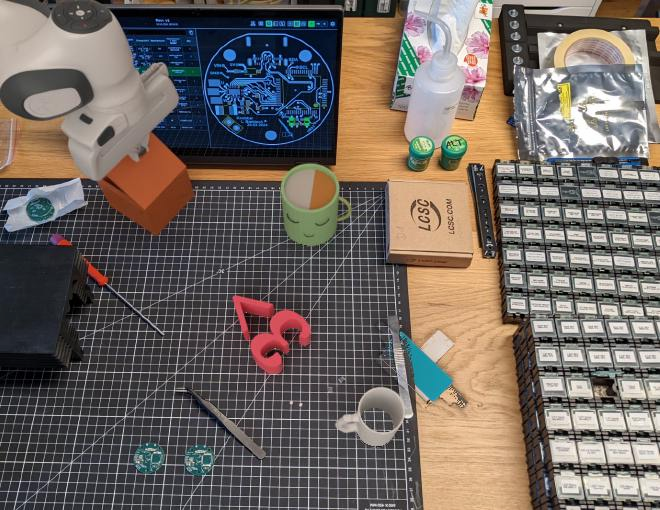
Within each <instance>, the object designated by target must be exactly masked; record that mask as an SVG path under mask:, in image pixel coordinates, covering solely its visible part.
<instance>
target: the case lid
mask: <svg viewBox="0 0 660 510" xmlns="http://www.w3.org/2000/svg"><path fill="white" fill-rule="evenodd" d="M149 134H150V137H149V141H148V145H147V146H148V148H149V152H148V153H146V154H145V155H144V156H143V157H142V158H141V159H140V160H139V161H138V162H136V161H134V160H133V159H131V158H130V156H129V155H128V154H127V155H126V156H125V157H124V158H123V159H122V160H121V161H120V162H119V163H118V164H117V165H116V166H115V167H114V168H113V169H112V170H111V171H110V172H109V173H108V174H107V175H106V176H107V177H108V178H109V179H111V180H112V181H113V182H114V183H115V184H116V185H117V186H118V187H119V188H120V189H121V190H122V191H124V192H125V193H126V194H127V195H128V196H129V197H130V198H131V199H132V200H133V201H134V202H135V203H137V204H138V205H139V206H140V207H141V208H142V209H143V210H145V209H146V208H147V207H148V206H149V205H150V204H151V203H152V202H153V201H154V200H155V199H156V198H157V197H158V196H159V195H160V194H161V193H162V192H163V191H164V190H165V189H166V187H167V186H168V185H169V184H170V183H171V182H172V181H173V180H174V179H175V178H176V177H177V176H178V175H179V174H180V173H181V172H182V171H183V170H184V169H185V168H186V169H187V165H186V164H185V163H184V162H183V161H182V160H181V159H180V158H179V157H177V156H176V154H175V153H173V152H172V150H170V148H168V146H166V144H164V143H163V142H162V140H160V139H159V137H158V136H156V135H155V133H153V132H152V131H151V132H150V133H149Z"/></svg>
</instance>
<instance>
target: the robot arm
mask: <svg viewBox="0 0 660 510" xmlns="http://www.w3.org/2000/svg"><path fill="white" fill-rule="evenodd" d="M169 76H170V75H169V70H168V67H167V65H166V63H164V62H162V61H161V62H157V63H156V62H153V63H152V64H150V65H149V66H148V69H146V70H144V71H143V72H142V73H141V74H140V72H139V71H138V69H137V68H136V66H135V65H134V54H133V52H132V49H131V46H130V44H129V41H128V39H127V35H126V34H125V31H124V30H123V28H122V26H121V24H120V22H119V21H118V19H117V17H116V15H114V13H113V12H112V11H111V10H110V9H109V8H108V7H107V6H106V5H104V4H102V3H101V2H99V1H97V0H62V1H59V2H58V3H57V4H55V6H54V7H53V8H52V10H51V9H50V7H49V6H48V5H46V4H45V3H43V2H41V1H39V0H0V102H1V104H2V105H3V107H4V108H5V109H6V110H8V111H9V112H10V113H12V114H13V115H15V116H17V117H19V118H22V119H25V120H30V121H35V122H44V121H45V122H46V121H51V120H52V121H53V120H56V119H59V118H62V117H64V118H63V120H62V122H61V124H60V129H61V131H62V133H63V134H64V135H66V136H67V137H68V141H67V146H68V147H67V148H68V151H69V154H70V156H71V159H72V161H73V163H74V165H75V167H76V168H77V170H78V171H79V173H81V174H82V175H83V176H84V177H86V178H87V179H89V180H91V181H92V182H93V181H94V182H97V181H100V180H102V179H103V178H104V177H105V176H106V175H107V174H108V173H109V172H110V171H111V170H112V169H113V168H114V167H115V166H116V165H117V164H118V163H119V162H120V161H121V160H122V159H123V158H124V157H125V156H126V155H127V154H128V155H129V156H130V158H131V159H133V160H134V161H136V162H138V161H139V160H140V159H141V158H142V157H143V156H144V155H145V154H146V153H148V152H149V148H148V146H147V145H148V141H149V137H150V134H149V133H150V132H152V131H153V130H154V129H155V128H156V127H157V126H158V125H159V124H160V123H162V121H163V120H164V119H165V118H166V117H168V115H169V114H170V113H172V112H173V110H175V109H176V108H177V107H178V105H179V102H180V101H179V100H180V97H179V94H178V91H177V89H176V87H175V85H174V83H173V81H172V80H171V78H170V77H169Z"/></svg>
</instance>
